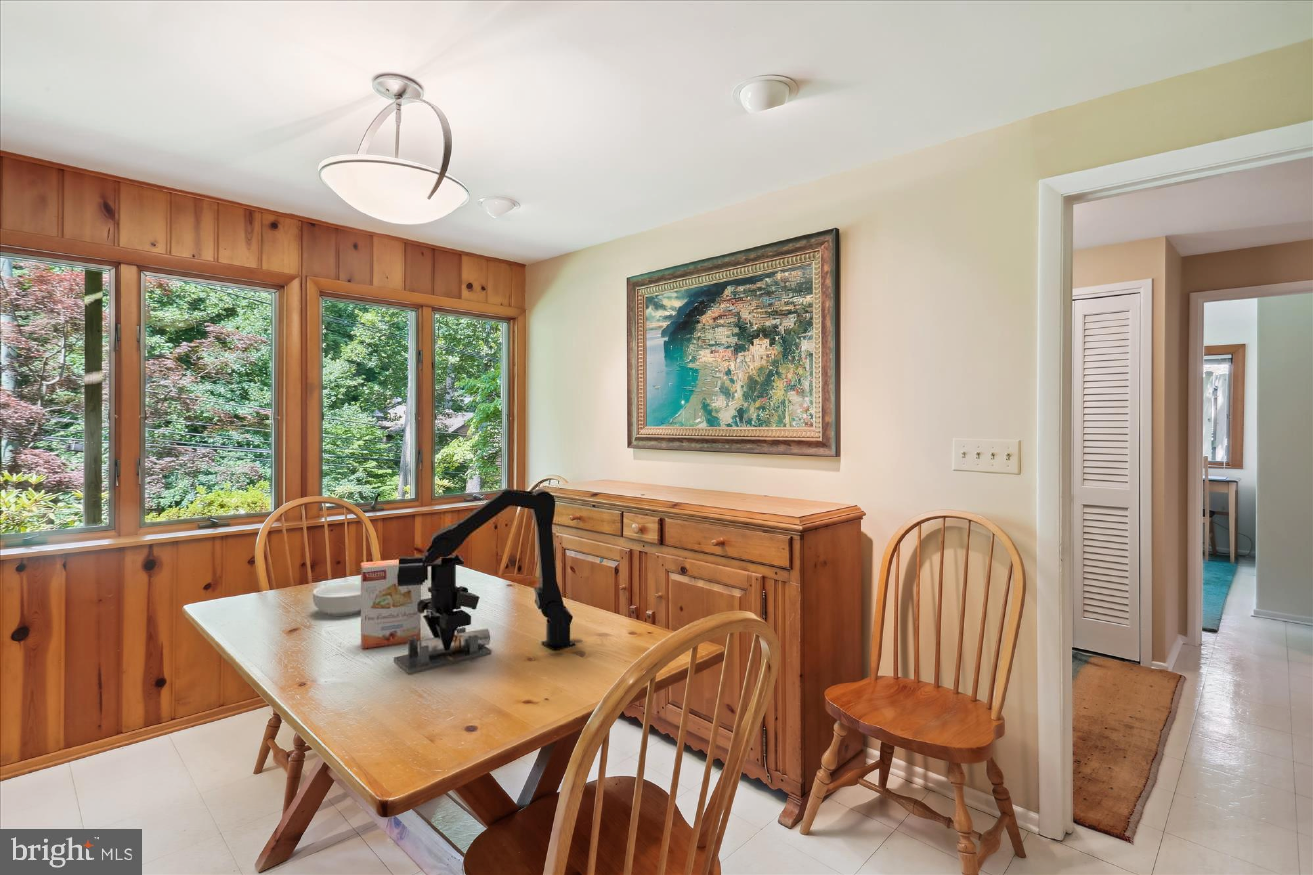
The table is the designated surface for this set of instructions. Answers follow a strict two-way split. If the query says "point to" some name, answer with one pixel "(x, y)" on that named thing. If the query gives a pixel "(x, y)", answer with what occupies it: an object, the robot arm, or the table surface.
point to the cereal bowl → (338, 598)
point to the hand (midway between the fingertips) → (443, 647)
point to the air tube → (456, 642)
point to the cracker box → (387, 606)
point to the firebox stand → (425, 662)
